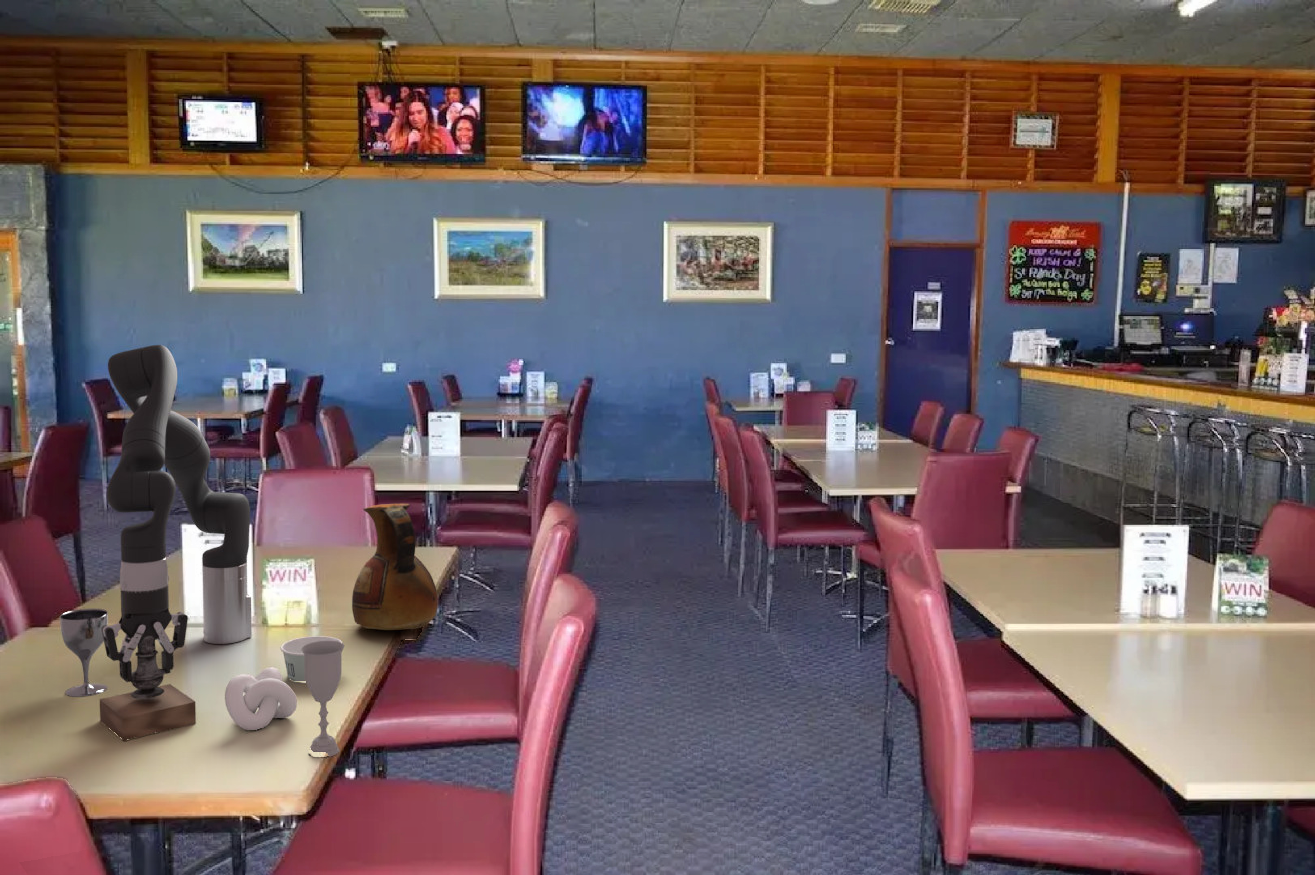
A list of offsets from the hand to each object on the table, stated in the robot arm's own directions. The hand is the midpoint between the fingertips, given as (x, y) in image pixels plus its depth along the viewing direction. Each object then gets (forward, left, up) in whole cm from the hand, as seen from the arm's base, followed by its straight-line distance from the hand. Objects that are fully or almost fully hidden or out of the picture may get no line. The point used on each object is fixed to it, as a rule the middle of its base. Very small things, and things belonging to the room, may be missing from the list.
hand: (147, 676), depth 180 cm
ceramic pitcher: (-63, -22, -9) cm, 67 cm away
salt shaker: (0, 0, -3) cm, 3 cm away
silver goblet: (+3, -24, -9) cm, 26 cm away
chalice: (-17, +32, -9) cm, 37 cm away
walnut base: (0, 0, -8) cm, 8 cm away
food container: (-33, -4, -9) cm, 34 cm away
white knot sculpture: (-14, +13, -9) cm, 21 cm away
